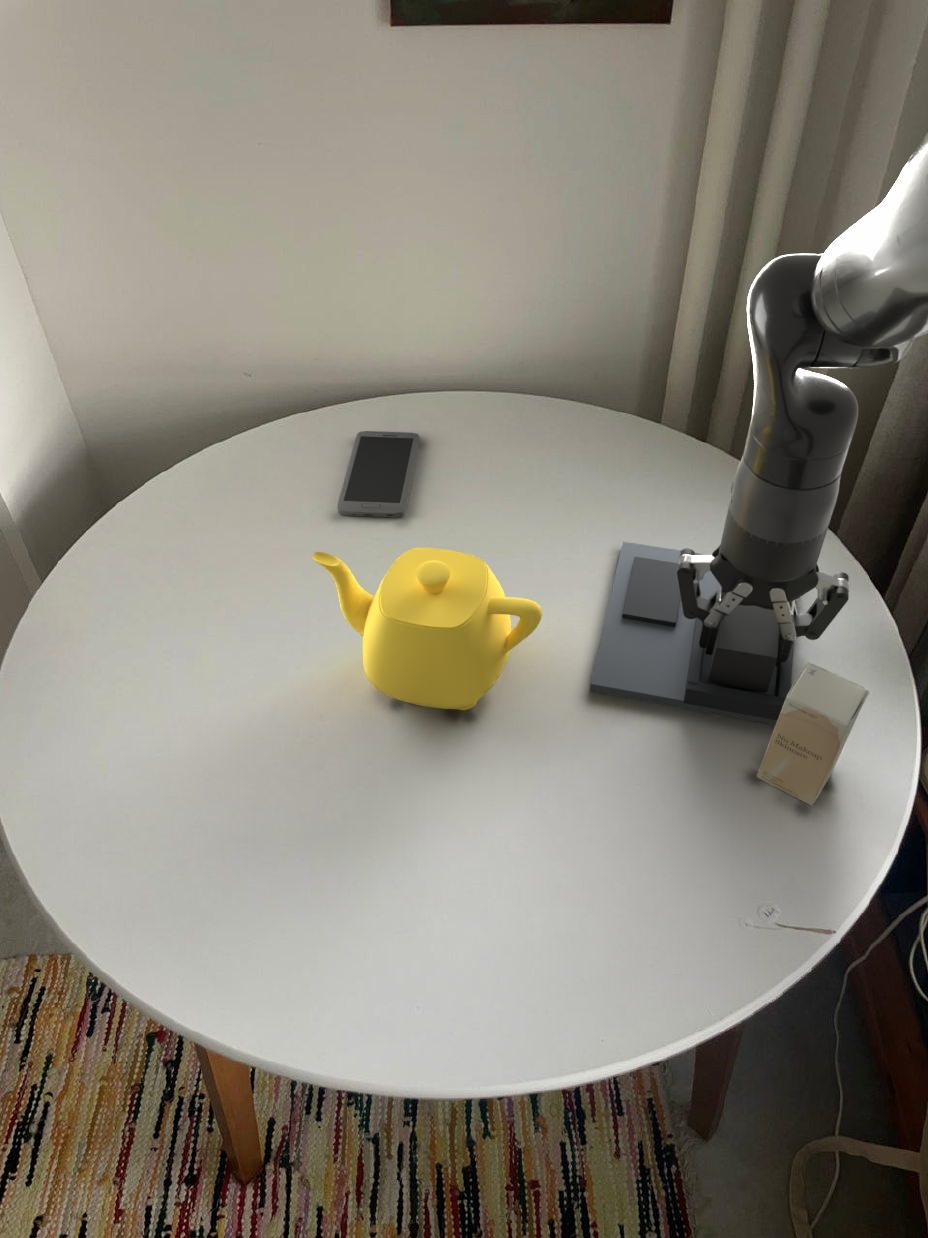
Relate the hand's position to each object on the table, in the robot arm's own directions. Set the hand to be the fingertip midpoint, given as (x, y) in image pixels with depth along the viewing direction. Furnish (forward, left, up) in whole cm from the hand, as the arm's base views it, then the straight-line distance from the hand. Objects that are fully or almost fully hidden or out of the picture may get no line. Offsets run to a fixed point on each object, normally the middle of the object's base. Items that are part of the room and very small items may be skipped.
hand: (741, 652), depth 90 cm
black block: (0, 0, -1) cm, 1 cm away
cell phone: (+40, -19, -3) cm, 45 cm away
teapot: (+27, +6, -3) cm, 28 cm away
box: (-6, +10, -3) cm, 12 cm away
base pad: (+4, -4, -3) cm, 7 cm away
